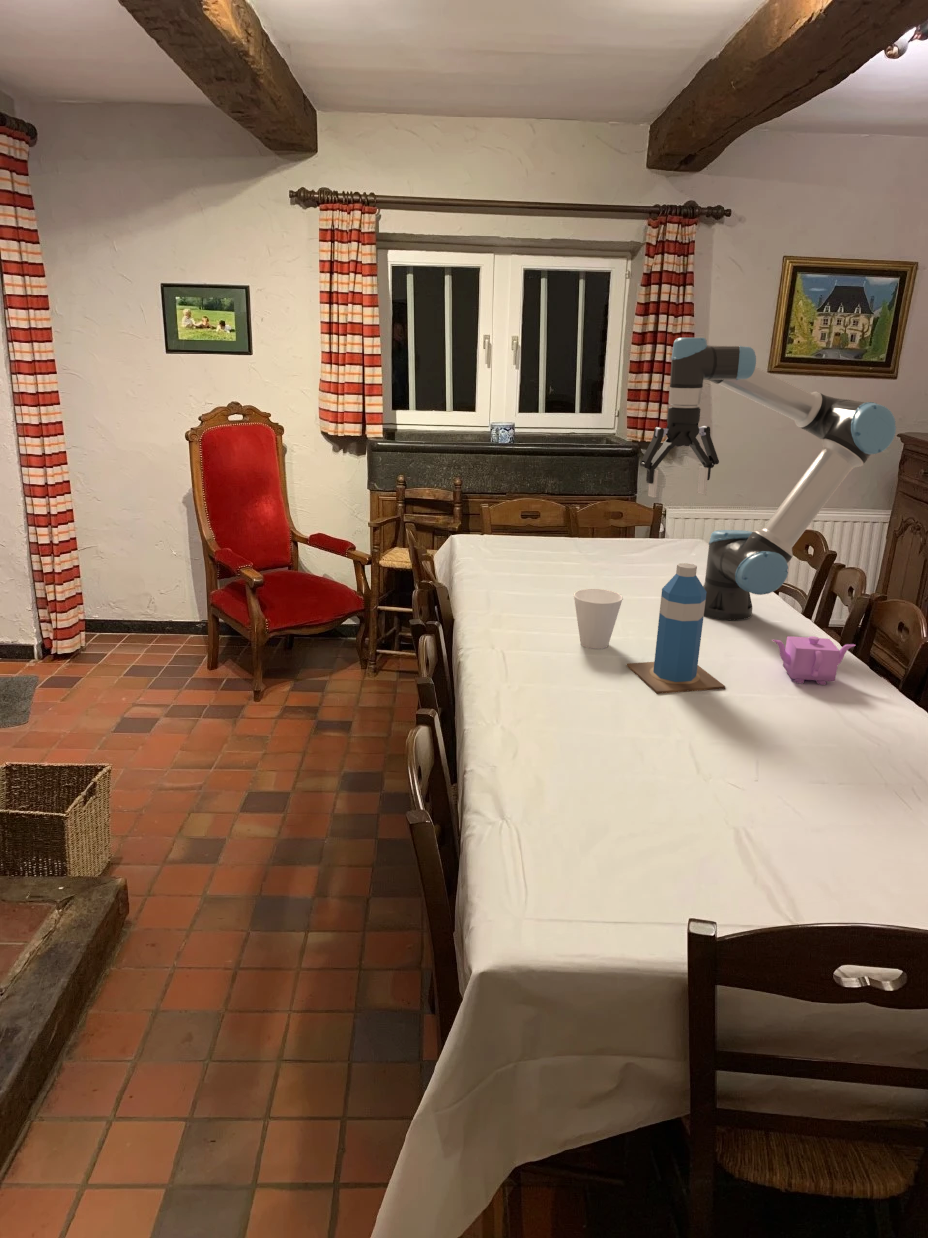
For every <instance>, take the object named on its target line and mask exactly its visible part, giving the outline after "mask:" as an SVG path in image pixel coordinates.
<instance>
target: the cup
mask: <svg viewBox="0 0 928 1238" xmlns="http://www.w3.org/2000/svg"><path fill="white" fill-rule="evenodd" d="M573 599H574V605H575V614H576V621H577V627H578V634H579V642H580V645H581V646H583V647H584V648H588V649H592V650H598V649H599V650H601V649H602V650H603V649H605V648H608V647H609V644H610V642H611V641H610V640H611V637H612V635H613V631H614V628H615V625H616V621H617V618H618V616H619V612H620V608H621V605H622V602H623V600H624V598H623V596H622V594H620V593H618V592H617V591H616V592H615V591H613V590H608V589H601V588H586V589H579V590H577V591H575V592H574V593H573Z"/></svg>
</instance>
